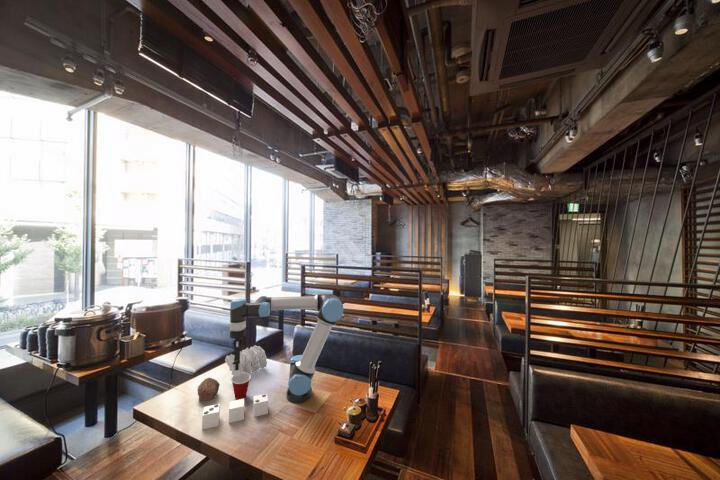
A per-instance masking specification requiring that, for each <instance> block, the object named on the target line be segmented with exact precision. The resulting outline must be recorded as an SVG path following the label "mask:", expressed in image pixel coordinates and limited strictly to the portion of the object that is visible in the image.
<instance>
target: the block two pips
mask: <svg viewBox="0 0 720 480" xmlns="http://www.w3.org/2000/svg"><path fill="white" fill-rule="evenodd" d="M252 398H253V404H252V409H253V413H252V414H253V418H254V417H255V418H256V417H259V416H263V415H268V414H269V397H268V393H263V394H258V395H253V397H252Z"/></svg>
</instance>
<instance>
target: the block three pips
mask: <svg viewBox="0 0 720 480" xmlns="http://www.w3.org/2000/svg"><path fill="white" fill-rule="evenodd" d="M220 405H221V404H220V403H217V404H212V405H207V406H204V407H203V410H202V415H201V416H202V418H201V419H202V420H201V430H207V429H210V428H214V427H219V423H220V410H221V409H220V408H221V407H220Z"/></svg>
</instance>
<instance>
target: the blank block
mask: <svg viewBox="0 0 720 480" xmlns="http://www.w3.org/2000/svg"><path fill="white" fill-rule="evenodd" d="M244 419H245V398H244V399H239V400H236V399H235V400H231V401H229V407H228V423H229V424H230V423H235V422H239V421H244Z"/></svg>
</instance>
